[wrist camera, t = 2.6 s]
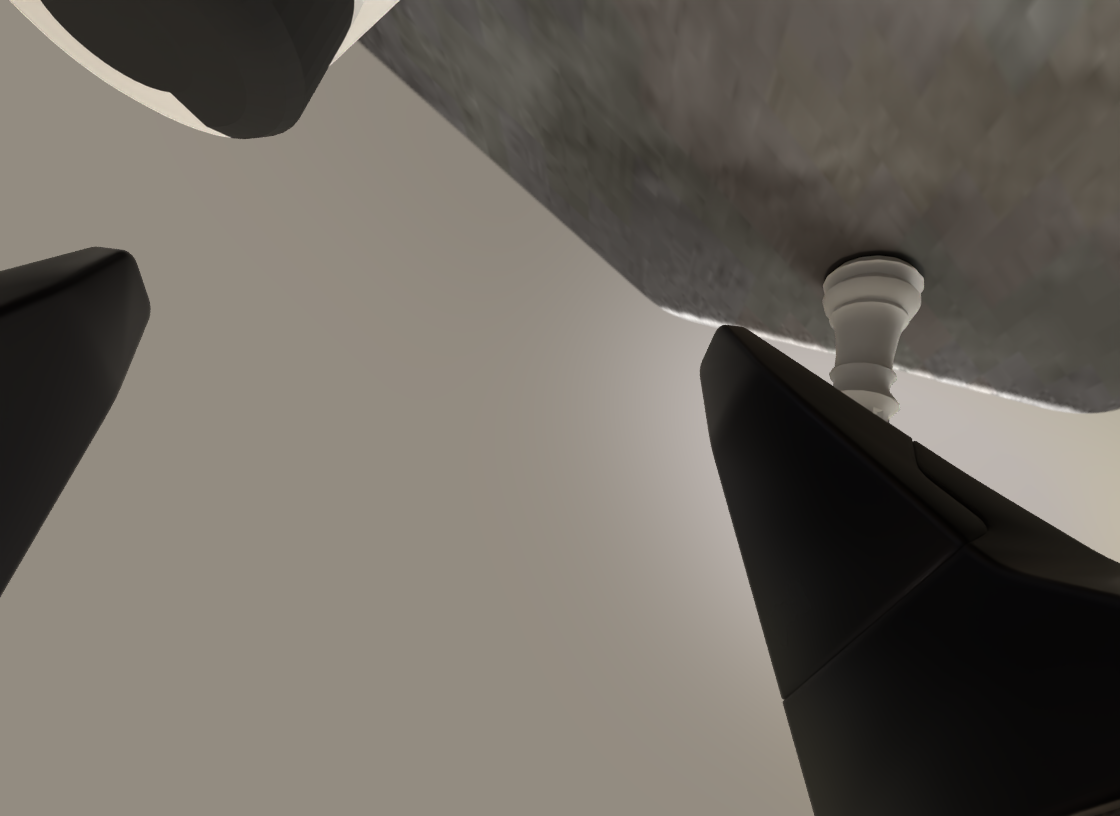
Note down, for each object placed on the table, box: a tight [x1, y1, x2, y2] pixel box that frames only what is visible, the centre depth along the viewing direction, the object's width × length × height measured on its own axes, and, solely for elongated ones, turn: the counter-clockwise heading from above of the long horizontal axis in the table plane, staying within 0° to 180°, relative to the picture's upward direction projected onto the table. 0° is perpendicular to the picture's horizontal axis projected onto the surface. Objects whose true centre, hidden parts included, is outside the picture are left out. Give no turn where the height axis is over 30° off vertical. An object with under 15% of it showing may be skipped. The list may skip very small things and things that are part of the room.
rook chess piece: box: [822, 255, 924, 423], centre depth 27 cm, size 4×4×8 cm
